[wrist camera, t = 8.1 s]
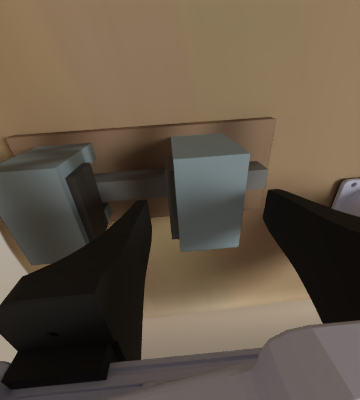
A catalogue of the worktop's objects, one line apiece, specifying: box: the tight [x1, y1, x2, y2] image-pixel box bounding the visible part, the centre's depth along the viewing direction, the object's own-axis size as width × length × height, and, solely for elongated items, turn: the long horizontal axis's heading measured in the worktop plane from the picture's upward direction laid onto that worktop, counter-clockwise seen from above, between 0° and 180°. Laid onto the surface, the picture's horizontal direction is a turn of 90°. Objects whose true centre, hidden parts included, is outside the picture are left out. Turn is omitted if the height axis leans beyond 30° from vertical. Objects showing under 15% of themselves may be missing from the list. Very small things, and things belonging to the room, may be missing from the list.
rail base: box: [0, 117, 276, 265], centre depth 14 cm, size 20×8×6 cm, turn 93°
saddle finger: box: [165, 133, 250, 252], centre depth 14 cm, size 4×6×6 cm
